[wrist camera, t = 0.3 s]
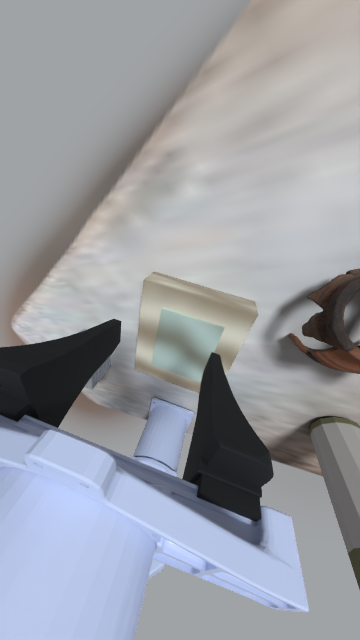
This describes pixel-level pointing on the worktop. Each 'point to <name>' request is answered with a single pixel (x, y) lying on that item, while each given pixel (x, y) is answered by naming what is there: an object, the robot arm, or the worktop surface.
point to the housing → (98, 373)
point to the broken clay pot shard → (333, 325)
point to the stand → (188, 329)
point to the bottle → (341, 476)
